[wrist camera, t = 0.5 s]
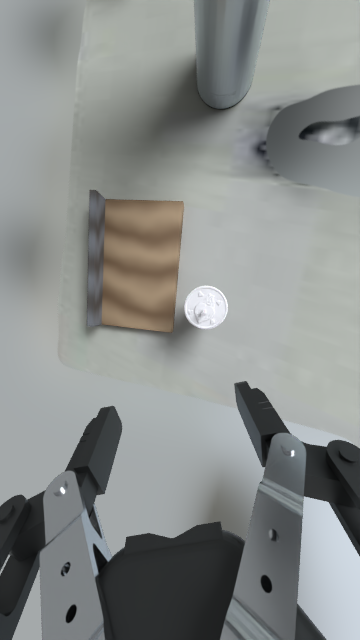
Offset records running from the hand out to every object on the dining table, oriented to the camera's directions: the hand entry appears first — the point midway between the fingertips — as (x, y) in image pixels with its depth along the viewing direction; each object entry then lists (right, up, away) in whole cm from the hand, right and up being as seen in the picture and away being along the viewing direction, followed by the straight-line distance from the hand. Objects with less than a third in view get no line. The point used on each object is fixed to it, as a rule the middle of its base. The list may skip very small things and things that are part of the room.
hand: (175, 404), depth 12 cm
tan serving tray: (-8, +16, +25) cm, 31 cm away
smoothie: (+5, +9, +24) cm, 26 cm away
